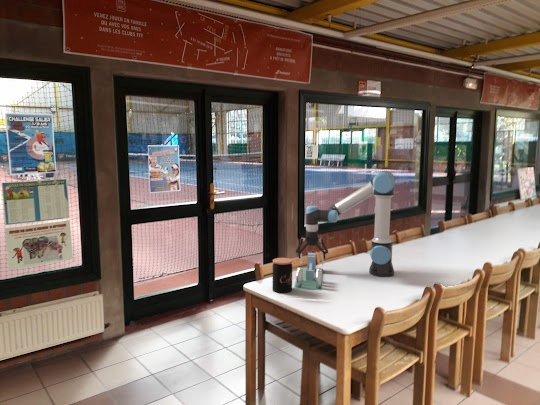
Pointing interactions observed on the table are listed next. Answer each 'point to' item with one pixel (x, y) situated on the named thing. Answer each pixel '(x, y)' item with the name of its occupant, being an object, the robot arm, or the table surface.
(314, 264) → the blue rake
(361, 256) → the table surface
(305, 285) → the green mat
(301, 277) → the spacers
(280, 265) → the coffee jar
